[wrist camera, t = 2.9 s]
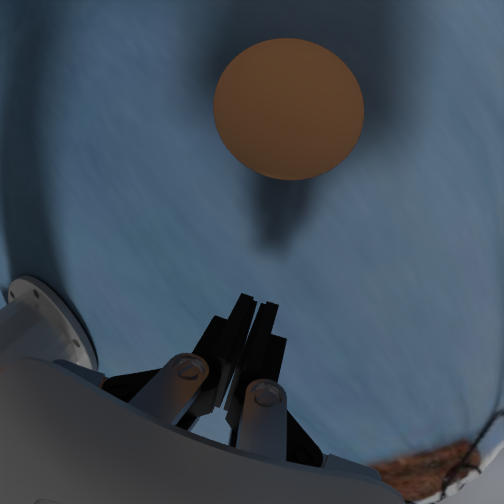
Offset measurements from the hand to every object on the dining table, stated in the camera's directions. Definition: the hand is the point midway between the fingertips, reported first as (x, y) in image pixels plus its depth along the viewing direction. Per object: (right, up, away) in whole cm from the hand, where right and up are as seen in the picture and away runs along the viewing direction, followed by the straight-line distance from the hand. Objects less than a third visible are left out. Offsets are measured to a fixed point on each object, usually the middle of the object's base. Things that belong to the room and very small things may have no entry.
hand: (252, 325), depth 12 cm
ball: (+1, +8, -3) cm, 9 cm away
